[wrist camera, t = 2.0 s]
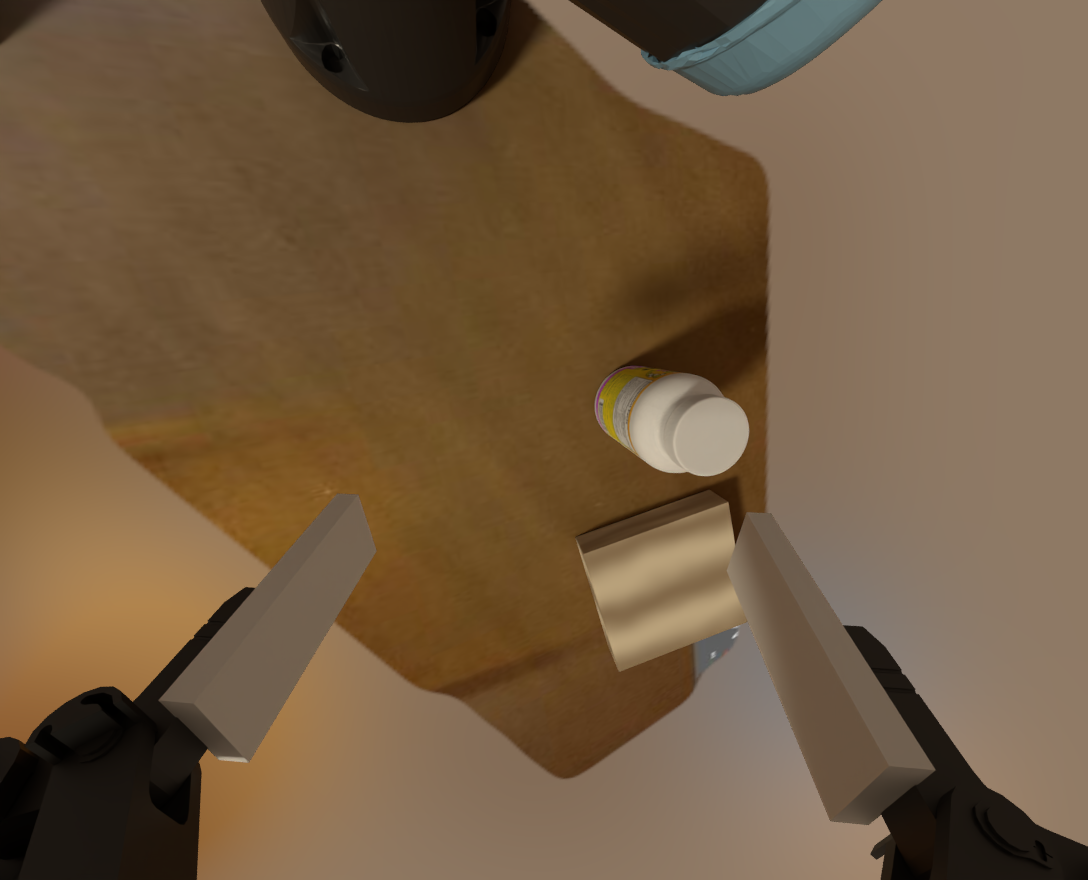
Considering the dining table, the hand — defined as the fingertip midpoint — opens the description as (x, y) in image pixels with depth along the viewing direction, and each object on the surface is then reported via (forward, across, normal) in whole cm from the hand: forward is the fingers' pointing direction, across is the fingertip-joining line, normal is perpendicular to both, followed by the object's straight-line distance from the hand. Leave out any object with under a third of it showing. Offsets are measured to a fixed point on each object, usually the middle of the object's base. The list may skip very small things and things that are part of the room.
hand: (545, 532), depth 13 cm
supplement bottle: (+22, +6, -5) cm, 23 cm away
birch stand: (+18, +10, -22) cm, 30 cm away
